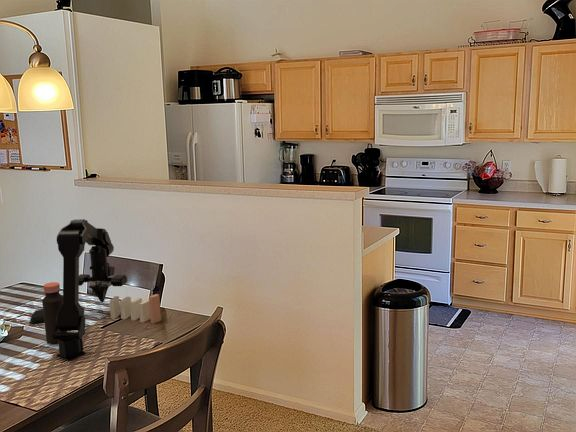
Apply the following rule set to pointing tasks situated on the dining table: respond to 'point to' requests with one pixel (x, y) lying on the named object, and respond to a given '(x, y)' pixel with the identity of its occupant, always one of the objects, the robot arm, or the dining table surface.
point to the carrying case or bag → (37, 317)
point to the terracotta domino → (154, 308)
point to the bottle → (51, 309)
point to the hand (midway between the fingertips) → (102, 302)
